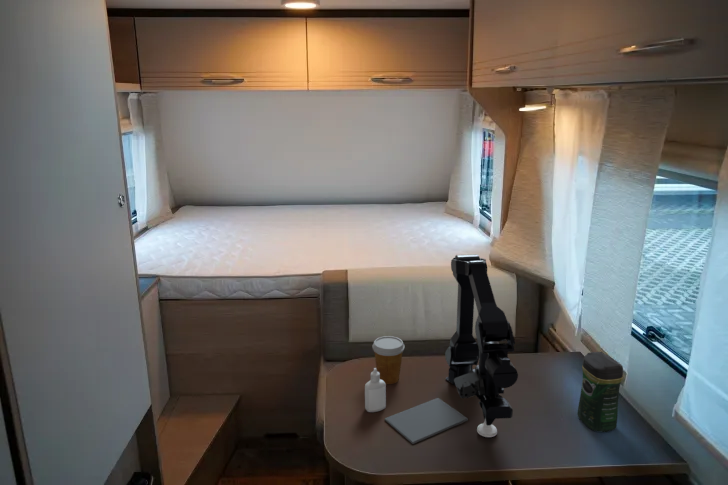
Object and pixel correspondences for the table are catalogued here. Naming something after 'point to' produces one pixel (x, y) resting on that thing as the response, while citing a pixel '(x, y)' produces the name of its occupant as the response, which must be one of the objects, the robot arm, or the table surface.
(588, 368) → the coffee jar
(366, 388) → the eye dropper bottle
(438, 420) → the slate mat
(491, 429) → the chess piece
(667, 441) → the table surface
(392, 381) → the disposable coffee cup
